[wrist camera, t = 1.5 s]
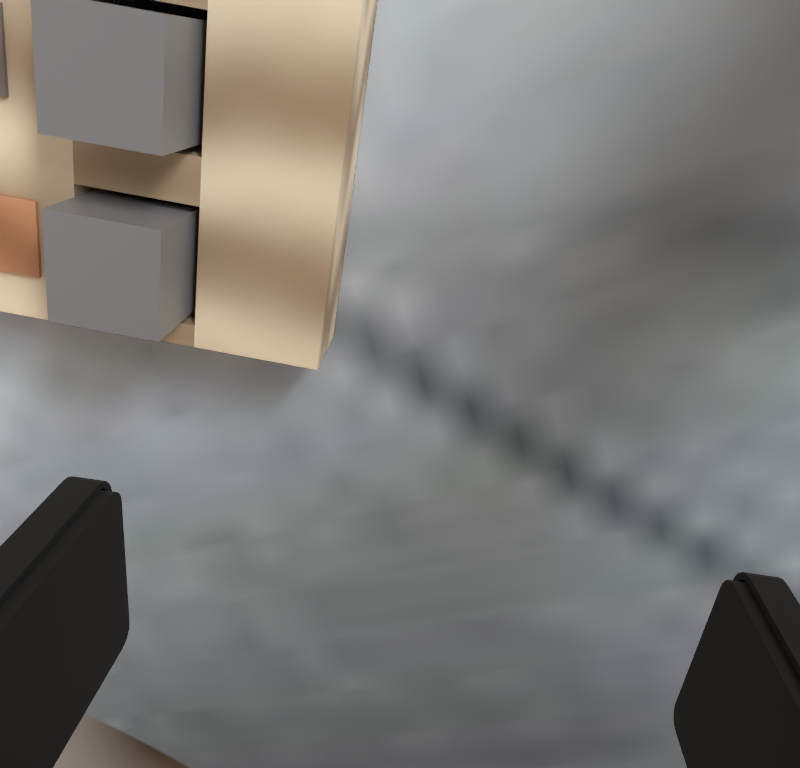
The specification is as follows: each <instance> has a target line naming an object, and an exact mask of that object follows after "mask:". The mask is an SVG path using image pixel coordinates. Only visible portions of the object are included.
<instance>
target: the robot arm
mask: <svg viewBox="0 0 800 768" xmlns="http://www.w3.org/2000/svg"><path fill="white" fill-rule="evenodd" d="M128 631H129V609H128V594H127V578H126V562H125V547H124V531H123V516H122V501H121V496H120V494H119V493H117V492H112V490H111V486H110V484H109V483H108V482H106V481H101V480H94V479H87V478H80V477H73V476H72V477H68V478H66V479H65V480H64V481H63V482H62V483H61V484H60V485H59V486H58V487H57V488H56V489H55V490H54V491H53V492H52V493H51V494H50V495H49V496H48V497H47V498H46V499H45V501H44V502H43V503H42V504H41V505H40V506H39V507H38V508H37V509H36V510H35V511H34V512H33V513H32V514H31V515H30V516H29V517H28V518H27V519H26V520H25V521H24V522H23V523H22V524H21V525H20V527H19V528H18V529H17V530H16V531H15V532H14V533H13V534H12V535H11V536H10V537H9V538H8V539H7V540H6V541H5V542H4V543H3V544H2V545H1V546H0V768H53V766H54V765H55V763H56V761H57V759H58V758H59V756H60V754H61V753H62V751H63V749H64V748H65V746H66V744H67V742H68V741H69V739H70V737H71V736H72V734H73V732H74V730H75V729H76V727H77V725H78V724H79V722H80V720H81V718H82V717H83V715H84V713H85V712H86V710H87V708H88V706H89V705H90V703H91V701H92V700H93V698H94V696H95V695H96V693H97V691H98V689H99V688H100V686H101V684H102V683H103V681H104V679H105V677H106V676H107V674H108V672H109V671H110V669H111V667H112V665H113V664H114V662H115V660H116V659H117V657H118V655H119V653H120V652H121V650H122V648H123V646H124V644H125V641H126V639H127V635H128ZM674 726H675V730H676V734H677V737H678V740H679V743H680V746H681V750H682V753H683V756H684V759H685V762H686V765H687V768H800V605H799V603H798V601H797V600H796V598H795V597H794V595H793V593H792V592H791V590H790V589H789V587H788V585H787V584H786V583H785V582H784V580H783V579H781V578H778V577H772V576H765V575H758V574H751V573H744V572H742V573H738V574H737V575H736V576H735V577H734V579H733V581H732V580H726V581H725V582H723V584H722V586H721V587H720V590H719V593H718V595H717V598H716V600H715V603H714V605H713V608H712V611H711V613H710V616H709V618H708V621H707V623H706V626H705V629H704V631H703V634H702V636H701V639H700V642H699V644H698V647H697V649H696V652H695V654H694V657H693V660H692V662H691V665H690V667H689V670H688V672H687V675H686V678H685V680H684V683H683V685H682V688H681V690H680V693H679V696H678V698H677V701H676V704H675V707H674Z"/></svg>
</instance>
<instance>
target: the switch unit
mask: <svg viewBox="0 0 800 768" xmlns="http://www.w3.org/2000/svg"><path fill="white" fill-rule="evenodd" d="M95 1H101V2H106V3H112V4H117V5H118V0H95ZM152 1H158V2H163V3H169V4H174V5H180V6H185V7H191V8H196V9H202V10H207V11H208V13H207V37H206V62H205V87H204V112H203V136H202V144H200V145H197V146H193V147H190V148H187V149H184V150H181V151H177V152H174V153H171V154H168V155H165V156H159V155H153V154H148V153H142V152H137V151H131V150H126V149H120V148H115V147H109V146H104V145H98V144H93V143H88V142H82V141H77V140H71V139H66V138H60V137H55V136H49V135H44V134H38V130H37V111H36V93H35V75H34V57H33V38H32V20H31V2H30V0H0V311H2V312H7V313H13V314H18V315H23V316H29V317H34V318H40V319H45V320H48V312H47V294H46V276H45V257H44V239H43V221H42V208H44V207H47V206H50V205H53V204H56V203H59V202H62V201H65V200H67V199H70V198H73V197H76V196H79V195H82V194H85V193H88V192H91V191H93V190H97V191H103V192H108V193H114V194H119V192H122V193H127V194H133V195H138V196H143V197H149V198H154V199H160V200H165V201H171V202H176V203H182V204H187V205H193V206H198V207H200V210H199V235H198V260H197V285H196V304H195V310H194V311H193V312H192V313H191V314H189V315H188V316H187V317H186V318H185V319H184V320H183V321H182V322H181V323H180V324H179V325H177V326H176V327H175V328H174V329H173V330H172V331H171V332H170V333H169V334H168V335H166V336H165V337H164V338H163V339H162V340H161V341H164V342H169V343H174V344H180V345H185V346H191V347H196V348H201V349H207V350H212V351H218V352H223V353H228V354H234V355H239V356H244V357H250V358H255V359H261V360H266V361H271V362H277V363H282V364H288V365H293V366H298V367H304V368H309V369H315V370H318V368H319V366H320V364H321V361H322V359H323V357H324V355H325V353H326V351H327V349H328V347H329V345H330V343H331V341H332V339H333V335H334V328H335V320H336V312H337V305H338V297H339V290H340V282H341V274H342V267H343V259H344V252H345V244H346V236H347V229H348V221H349V213H350V206H351V198H352V191H353V183H354V175H355V168H356V160H357V153H358V145H359V137H360V130H361V122H362V115H363V107H364V99H365V92H366V84H367V76H368V69H369V61H370V54H371V46H372V38H373V31H374V23H375V16H376V8H377V0H152Z"/></svg>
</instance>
